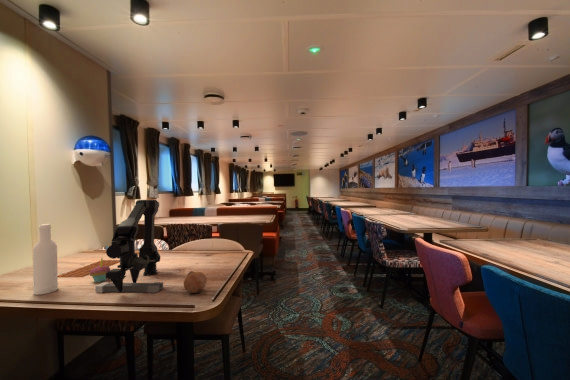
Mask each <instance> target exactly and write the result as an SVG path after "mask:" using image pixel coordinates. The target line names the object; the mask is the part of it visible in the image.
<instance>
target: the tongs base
mask: <svg viewBox="0 0 570 380" xmlns="http://www.w3.org/2000/svg"><path fill="white" fill-rule="evenodd" d="M109 283H111V281H109V282H107V281H105V282H104V281H102V283H100V284H97V285H95V287H94V288H95V291H94V292H95V293H96V294H97V293H99V294H100V293H101V294H102V293H105V292H107V293H111V292H113V293H115V292H116V293H118V292H119V291H118V290H117V288H116V287H115V285H114V284H109ZM160 291H161V290H160V284H123V288H122V292H121V293H131V292H133V293H135V292H136V293H137V292H138V293H144V292H146V293H151V294H152V293H156V294H157V293H158V292H160ZM119 293H120V292H119Z"/></svg>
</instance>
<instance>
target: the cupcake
mask: <svg viewBox="0 0 570 380" xmlns="http://www.w3.org/2000/svg"><path fill="white" fill-rule="evenodd" d="M103 260H104V259H103V257H101V259H100V261H101V266H98V267H95V268H93V269H92V270H91V271H90V272H89V276H90V277H92V279H93V281H94V283H100V282H102V283H103V282H104V281H105V282H106V281H107V279H106V273H107V272H108V271H110V270H111V268H110V267H111V266H109V267H108V266H102V263H103Z"/></svg>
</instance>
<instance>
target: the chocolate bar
mask: <svg viewBox="0 0 570 380" xmlns="http://www.w3.org/2000/svg"><path fill="white" fill-rule="evenodd" d="M117 264H120V259H103V263H102V266H108V267H112V266H114V265H117ZM98 266H101V260H98V261H95V262H93V263H90V264H87V265H84V266H83V267H82V266H81V267H78V268H76V269H74V270H70V271H68V272H64V273H61V274H59V275H58V274H57V276H58V278H78V279H79V278H84V277H87V276H90V274H89V272H90V271H91V270H92V269H93V268H95V267H98Z"/></svg>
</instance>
